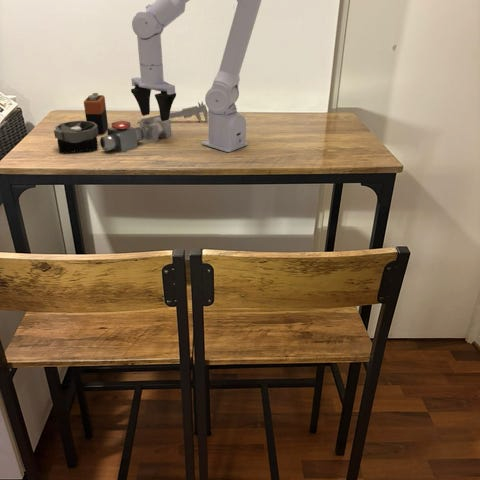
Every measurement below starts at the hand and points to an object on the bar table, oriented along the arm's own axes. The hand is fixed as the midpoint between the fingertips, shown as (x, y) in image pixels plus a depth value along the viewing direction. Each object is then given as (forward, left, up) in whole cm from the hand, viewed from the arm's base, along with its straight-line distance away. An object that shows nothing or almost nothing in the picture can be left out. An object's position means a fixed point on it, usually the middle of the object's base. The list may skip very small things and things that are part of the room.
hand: (155, 117), depth 129 cm
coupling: (0, 0, -6) cm, 6 cm away
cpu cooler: (+9, +19, -6) cm, 21 cm away
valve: (0, +11, -5) cm, 12 cm away
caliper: (+7, -13, -6) cm, 16 cm away
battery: (+16, +7, -6) cm, 18 cm away
